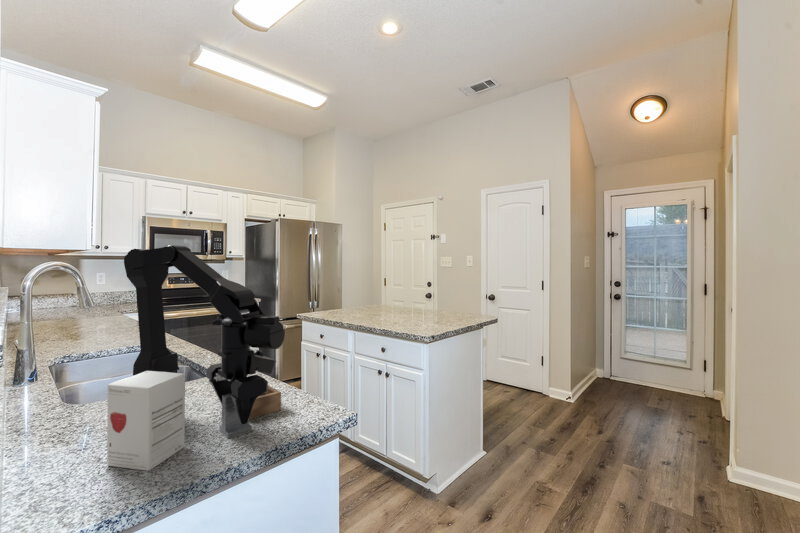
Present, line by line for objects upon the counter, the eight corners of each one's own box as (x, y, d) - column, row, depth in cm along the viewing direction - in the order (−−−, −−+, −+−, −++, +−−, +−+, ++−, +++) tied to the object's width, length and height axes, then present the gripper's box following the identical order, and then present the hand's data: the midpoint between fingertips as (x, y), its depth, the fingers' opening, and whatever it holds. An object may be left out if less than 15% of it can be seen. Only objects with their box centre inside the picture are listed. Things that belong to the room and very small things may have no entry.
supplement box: (104, 466, 66) (104, 384, 66) (146, 442, 75) (146, 369, 75) (148, 472, 65) (148, 387, 65) (186, 447, 74) (186, 372, 73)
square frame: (244, 421, 86) (244, 401, 86) (229, 409, 92) (229, 391, 92) (280, 410, 92) (280, 392, 92) (264, 400, 98) (264, 383, 98)
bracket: (228, 438, 77) (228, 399, 77) (219, 431, 81) (219, 393, 81) (251, 431, 81) (251, 393, 81) (242, 423, 84) (242, 388, 84)
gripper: (291, 347, 80) (290, 419, 80) (253, 334, 93) (253, 396, 93) (239, 356, 72) (238, 436, 72) (205, 341, 85) (205, 408, 85)
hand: (235, 417), depth 81 cm, fingers open, 9 cm apart
